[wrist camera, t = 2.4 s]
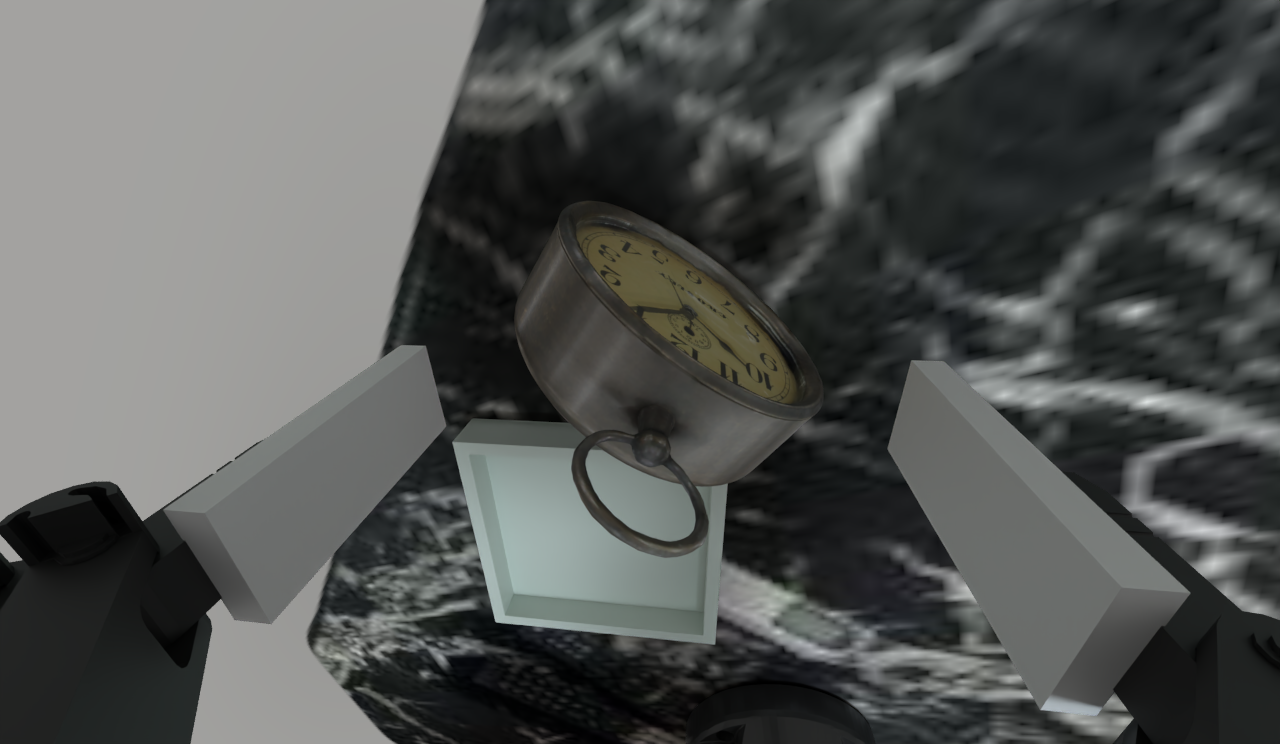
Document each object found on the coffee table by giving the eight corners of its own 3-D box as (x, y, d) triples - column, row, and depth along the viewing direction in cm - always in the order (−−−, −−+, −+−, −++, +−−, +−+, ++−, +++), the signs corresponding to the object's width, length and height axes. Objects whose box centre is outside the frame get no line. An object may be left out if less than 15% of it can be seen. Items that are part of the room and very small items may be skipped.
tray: (714, 610, 33) (715, 644, 31) (509, 591, 35) (495, 622, 32) (727, 430, 26) (729, 457, 24) (472, 418, 28) (452, 442, 26)
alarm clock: (796, 313, 23) (962, 608, 8) (727, 390, 25) (761, 725, 11) (610, 178, 21) (409, 251, 7) (555, 274, 23) (315, 484, 9)
